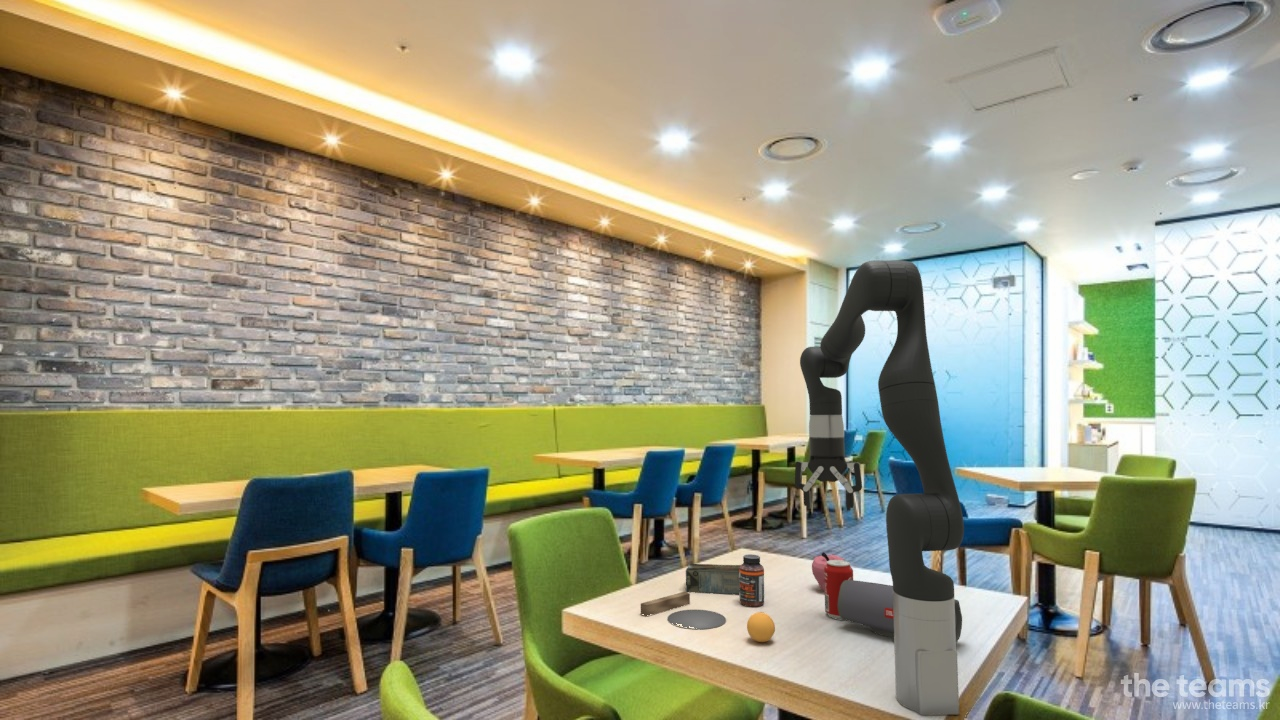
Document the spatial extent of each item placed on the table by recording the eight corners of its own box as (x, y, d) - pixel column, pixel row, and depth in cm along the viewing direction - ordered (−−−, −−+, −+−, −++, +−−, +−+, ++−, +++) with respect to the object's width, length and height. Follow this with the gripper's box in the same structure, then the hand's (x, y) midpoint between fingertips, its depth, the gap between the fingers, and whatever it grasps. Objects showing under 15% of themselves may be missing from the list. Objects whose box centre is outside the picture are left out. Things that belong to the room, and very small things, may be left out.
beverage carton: (688, 585, 176) (688, 559, 177) (761, 589, 172) (761, 563, 173) (685, 593, 168) (685, 567, 169) (761, 597, 165) (761, 570, 165)
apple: (847, 597, 163) (846, 556, 164) (811, 594, 166) (810, 554, 167) (847, 587, 172) (846, 548, 173) (813, 584, 175) (812, 546, 176)
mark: (730, 629, 141) (730, 628, 141) (669, 629, 140) (669, 628, 140) (721, 610, 154) (721, 609, 154) (665, 610, 153) (665, 609, 153)
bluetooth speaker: (836, 630, 140) (835, 582, 141) (854, 619, 147) (853, 573, 148) (950, 656, 125) (948, 602, 126) (963, 642, 132) (962, 592, 133)
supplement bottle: (735, 605, 157) (735, 557, 158) (744, 598, 163) (743, 552, 163) (760, 608, 155) (759, 559, 155) (767, 602, 160) (766, 554, 161)
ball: (777, 646, 131) (777, 617, 131) (749, 646, 131) (749, 617, 131) (771, 636, 136) (771, 608, 137) (744, 636, 136) (744, 608, 137)
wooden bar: (683, 602, 160) (683, 591, 160) (689, 604, 158) (689, 593, 159) (640, 614, 151) (640, 603, 151) (646, 616, 149) (646, 605, 149)
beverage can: (855, 621, 145) (854, 566, 146) (826, 619, 147) (825, 565, 147) (852, 612, 152) (851, 559, 152) (824, 611, 153) (823, 558, 154)
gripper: (791, 435, 146) (793, 510, 145) (859, 436, 141) (862, 513, 140) (796, 435, 153) (798, 505, 152) (860, 435, 148) (863, 508, 146)
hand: (828, 509), depth 146 cm, fingers open, 8 cm apart
